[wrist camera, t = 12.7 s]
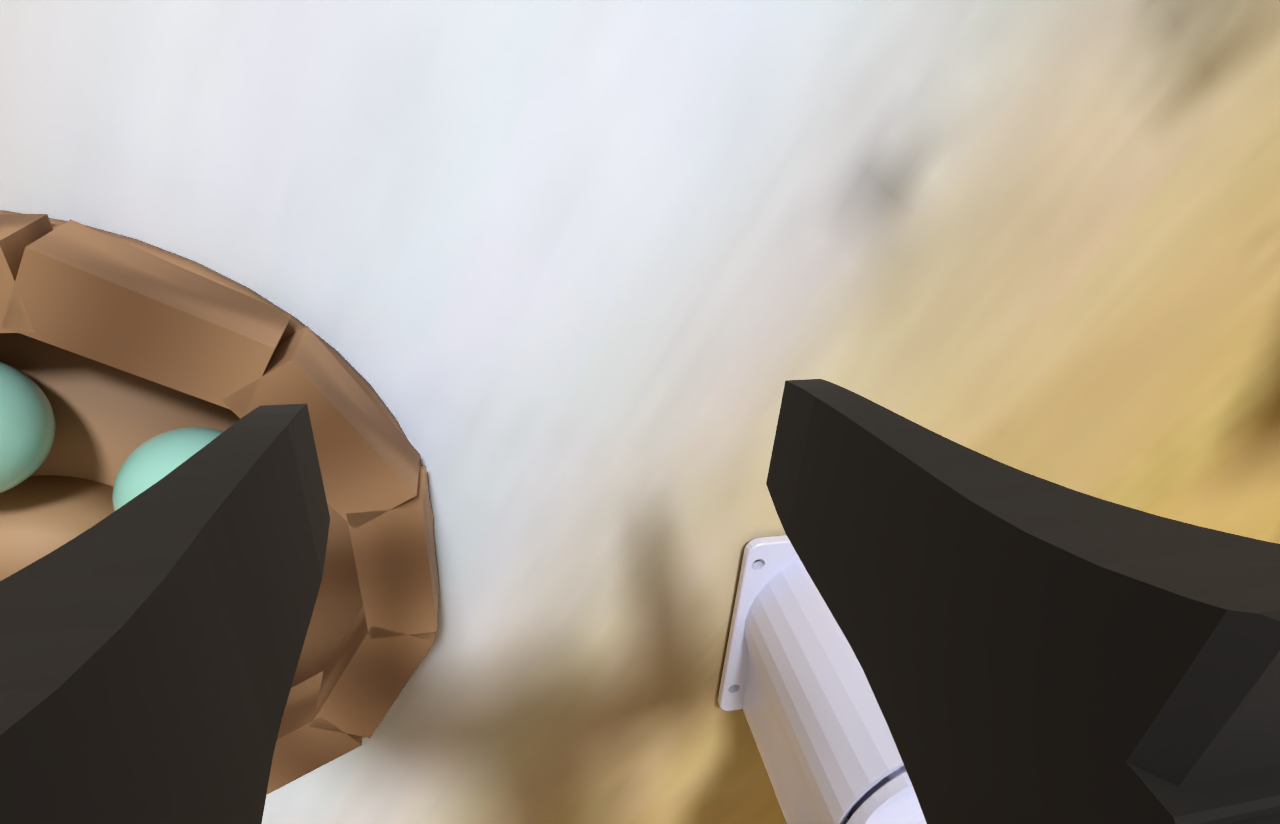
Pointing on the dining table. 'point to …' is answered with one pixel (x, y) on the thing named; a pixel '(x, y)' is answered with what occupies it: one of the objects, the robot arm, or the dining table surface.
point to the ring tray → (217, 398)
